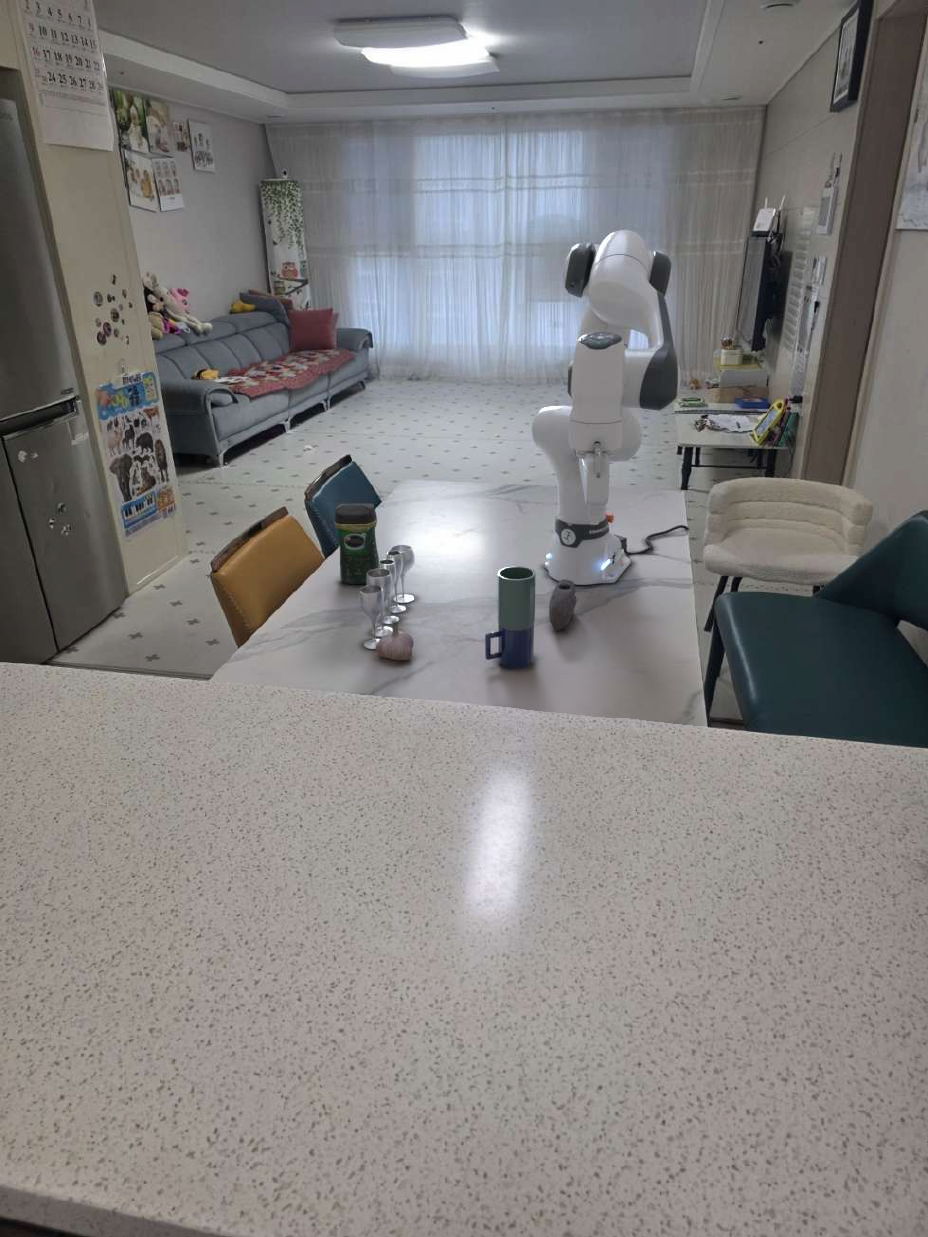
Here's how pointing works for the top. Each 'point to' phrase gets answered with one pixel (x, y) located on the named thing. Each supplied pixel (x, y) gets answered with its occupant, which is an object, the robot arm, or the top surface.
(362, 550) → the coffee jar
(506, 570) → the green cup
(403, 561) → the goblet set
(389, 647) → the garlic bulb
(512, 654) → the mug
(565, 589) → the perforated stone tool
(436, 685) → the top surface
